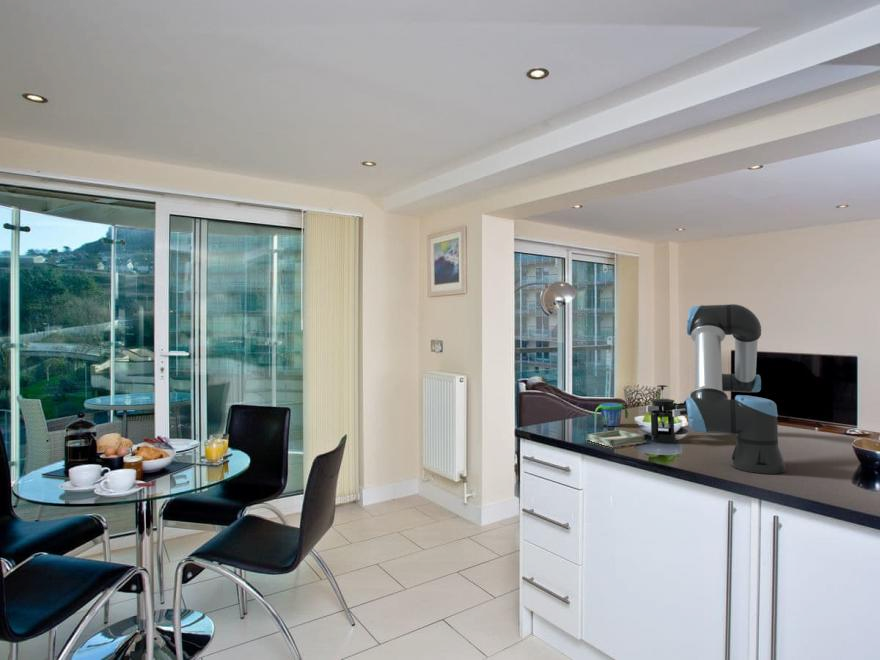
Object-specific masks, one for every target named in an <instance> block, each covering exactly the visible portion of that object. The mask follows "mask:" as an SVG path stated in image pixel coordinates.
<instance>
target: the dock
mask: <svg viewBox="0 0 880 660" xmlns="http://www.w3.org/2000/svg"><path fill="white" fill-rule="evenodd" d="M585 439H586V440H590V441H592V442H595V443H599V444H602V445H605V446H609V447H612V448H613V447H619V448H622V447H621V446H626V447H630V446H629V445H633V446H637V445H636V444H639V445H644V444H643V443H646V444H647V440H645V435H643V434H638V433H634V432H629V431H625V430H620V429H615V430H609V431H608V430H607V431H600V432H593V433H586V438H584V440H585ZM605 446H604V447H605ZM609 447H608V448H609ZM612 448H611V449H612ZM613 449H614V448H613Z"/></svg>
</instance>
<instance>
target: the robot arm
mask: <svg viewBox="0 0 880 660" xmlns="http://www.w3.org/2000/svg"><path fill="white" fill-rule="evenodd" d="M686 334H687V335H688V336H690V338H691V339H692V341H693V342H694V345H695V347H694V348H695V350H694V353H695V354H694V355H695V356H694V359H695V360H694V366H695V367H694V372H695V373H694V390H692V392H691V393H690V396H688V397H687V398H685V400H684V402H680V403H676V402H673V406H671V407H663V410H666V411H673V417H674V418H675V417H684V416H687V418H688V419H687V420H688V425H689V429H690V430H691V431H693V432H694V433H696V432H697V433H703V434H721V435H723V434H724V435H736V436H735V437H736V444H735V447H734V449H733V452H732V456H731V457H730V458H731V459H730V462H731V463H730V465H731V467H733V468H734V469H736V468H737V470H741V471H743V472H748V473H754V472H755V473H756V474H769V475H770V474H771V475H773V474H781V473H784V472H786V463H785V461H784V458H783V455H782V452H781V450H780V447H779V429H778V428H779V427H778V417H779V414H778V407H777V406H778V405H777V404H776V402H775V401H773V400H771V399H768V398H765V397H764V398H763V397H759V396H752V395H747V394H746V395H745V394H744V395H743V394H737V395H735V397H734V399H729V398H728V395H727V393H726V392H733V393H734V392H735V393H737V392H738V393H759V392H760V391H761V389H762V379H761V375H760V374H757V361H758V360H757V358H758V340H759V339H760V338H761V336H762V325H761V323H760V320H759V319H758V317H757V316H756V315H755V313H754V312H753V311H751V309H749V308H747V307H745V306H744V305H740V304H735V303H734V304H733V303H730V304H711V305H709V304H708V305H707V304H706V305H703V304H700V305H693V306H691V307H690V308H689V311H688V314H687V322H686ZM726 336H732V337H733V339H735V340H734V373H722V372H723V368H722V366H723V364H722V342H723V341H724V340H725V338H726ZM645 407H646V410H645V411H646V413H651V411H655V410H662V407H659V406H653V405H652V404H649V405H646V406H645Z"/></svg>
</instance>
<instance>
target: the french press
mask: <svg viewBox="0 0 880 660" xmlns="http://www.w3.org/2000/svg"><path fill="white" fill-rule="evenodd" d="M656 387H658V388H660V391H661V398H651V399H650V401H651V402H652V403H651V405H653V406H659V407H662V410H655V411H651V412H650V413H651V414H650V428H651V431H650V432H651V433H650V434H651V442H654V443H658V444H659V443H660V444H674V443H676V442H677V439H676V432H675V420H674V419H675V417H673V411H667V410H663V407H671V406H673V403H675V399H671V398H664V388H666V387H668V385H664V384H658V385H657V386H656ZM659 417H661V418H662V423H659ZM665 418H667V423H665V421H664V419H665ZM659 429H662V430H659ZM663 429H664V430H663ZM665 429H668V430H665Z"/></svg>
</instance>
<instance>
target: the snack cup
mask: <svg viewBox="0 0 880 660" xmlns="http://www.w3.org/2000/svg"><path fill="white" fill-rule="evenodd" d="M623 408H624V414H625V415H624V416H625V417H624V418H625V419H628V416H629V412H628V409H627V407H626V406H624V405H623V404H621V403H614V402H612V403H611V402H610V403H609V402H608V403H600V404H599V405H598V406H597V407H596V408H595V411H594V418H595V420H598V414H597V413H598V410H599V411H600V412H601V413H600V414H601V418H602V423H603V426H604V425H607V426H606V427H608V426H616V427H619V426H620V425H621V417H622V412H623Z"/></svg>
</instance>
